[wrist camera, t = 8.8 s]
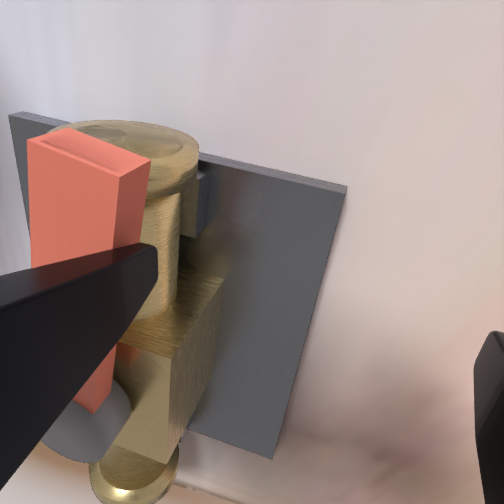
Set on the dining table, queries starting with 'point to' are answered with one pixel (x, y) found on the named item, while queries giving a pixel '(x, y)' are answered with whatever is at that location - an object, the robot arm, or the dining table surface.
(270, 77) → the dining table surface
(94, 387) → the lever
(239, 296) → the valve body
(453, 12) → the dining table surface
